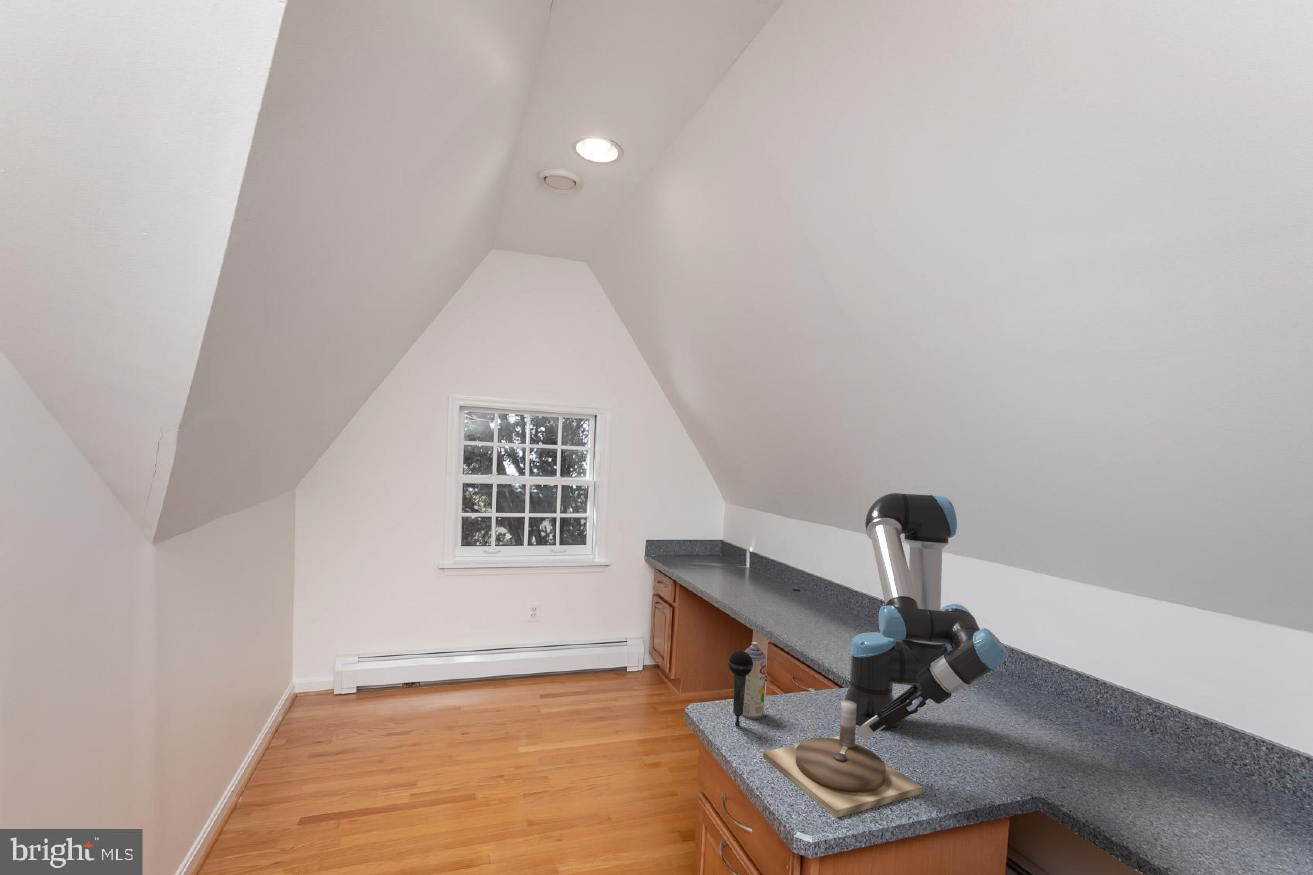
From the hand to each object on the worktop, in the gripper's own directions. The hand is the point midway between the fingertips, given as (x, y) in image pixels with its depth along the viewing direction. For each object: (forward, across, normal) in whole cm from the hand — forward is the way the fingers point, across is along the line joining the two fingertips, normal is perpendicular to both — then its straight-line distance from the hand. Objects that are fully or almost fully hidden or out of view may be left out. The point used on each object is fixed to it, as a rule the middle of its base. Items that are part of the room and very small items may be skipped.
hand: (861, 733), depth 142 cm
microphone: (+29, +3, +17) cm, 33 cm away
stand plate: (+8, -7, -3) cm, 11 cm away
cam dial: (+7, -7, -2) cm, 10 cm away
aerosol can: (+28, +12, +17) cm, 35 cm away
